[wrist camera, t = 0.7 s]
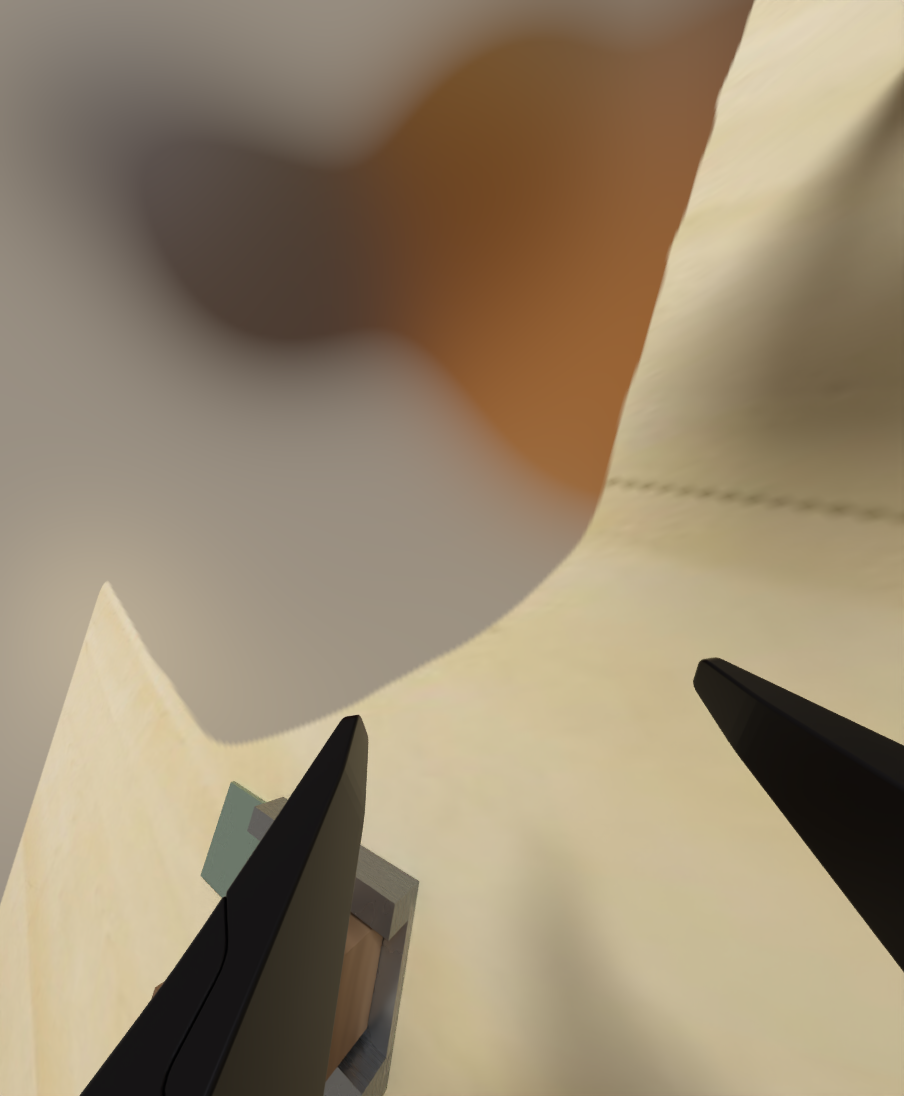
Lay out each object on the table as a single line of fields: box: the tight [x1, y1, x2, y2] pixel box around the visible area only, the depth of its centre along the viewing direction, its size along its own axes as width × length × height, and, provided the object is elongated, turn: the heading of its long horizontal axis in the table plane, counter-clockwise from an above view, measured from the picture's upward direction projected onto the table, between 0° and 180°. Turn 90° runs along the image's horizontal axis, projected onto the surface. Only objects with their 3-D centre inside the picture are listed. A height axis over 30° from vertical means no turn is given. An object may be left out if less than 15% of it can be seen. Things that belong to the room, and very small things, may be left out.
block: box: [152, 912, 383, 1081], centre depth 16 cm, size 5×5×10 cm
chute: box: [201, 781, 419, 1096], centre depth 23 cm, size 21×9×2 cm, turn 79°
